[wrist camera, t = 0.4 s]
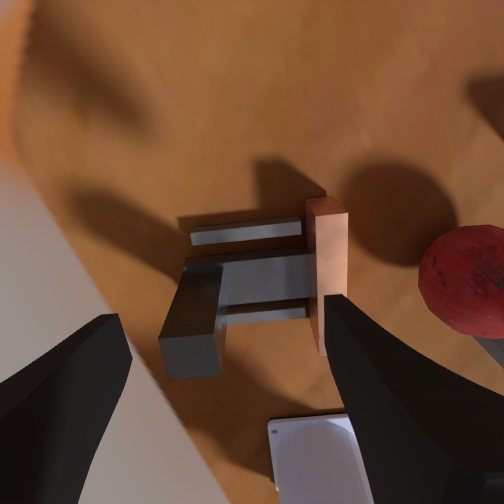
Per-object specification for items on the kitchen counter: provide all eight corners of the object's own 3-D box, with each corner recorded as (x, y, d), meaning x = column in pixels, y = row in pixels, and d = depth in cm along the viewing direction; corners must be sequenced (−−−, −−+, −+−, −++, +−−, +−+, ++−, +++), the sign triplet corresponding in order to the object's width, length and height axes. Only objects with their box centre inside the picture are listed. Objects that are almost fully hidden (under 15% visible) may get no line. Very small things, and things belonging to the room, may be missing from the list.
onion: (382, 236, 20) (458, 311, 13) (474, 189, 19) (615, 243, 12) (413, 303, 22) (493, 400, 15) (497, 264, 21) (629, 349, 14)
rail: (303, 308, 22) (305, 317, 21) (210, 317, 23) (209, 326, 22) (298, 215, 19) (300, 221, 19) (192, 227, 20) (190, 233, 19)
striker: (333, 321, 22) (368, 412, 16) (202, 333, 23) (184, 428, 16) (332, 195, 19) (378, 246, 12) (176, 212, 19) (138, 271, 12)
